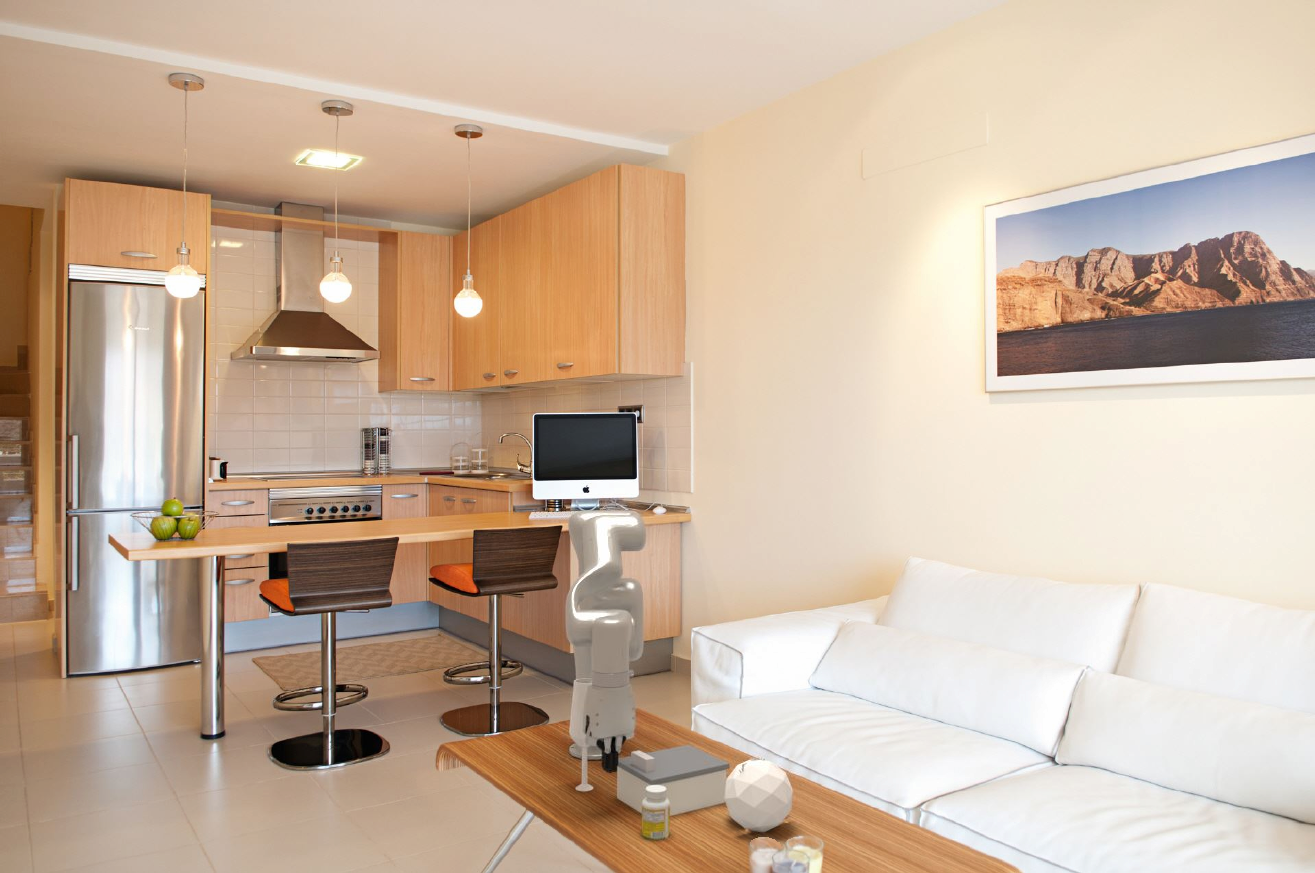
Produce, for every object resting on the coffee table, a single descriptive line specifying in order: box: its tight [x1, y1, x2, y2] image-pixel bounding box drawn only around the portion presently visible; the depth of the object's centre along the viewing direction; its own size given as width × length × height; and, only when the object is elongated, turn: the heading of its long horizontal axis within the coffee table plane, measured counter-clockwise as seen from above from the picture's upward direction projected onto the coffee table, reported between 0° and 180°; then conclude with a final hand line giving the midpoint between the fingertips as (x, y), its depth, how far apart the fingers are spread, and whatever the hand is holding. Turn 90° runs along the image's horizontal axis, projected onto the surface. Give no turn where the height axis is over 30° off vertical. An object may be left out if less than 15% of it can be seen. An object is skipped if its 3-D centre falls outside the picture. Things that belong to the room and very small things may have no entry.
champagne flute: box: [568, 678, 594, 792], centre depth 201 cm, size 7×7×24 cm
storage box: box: [616, 766, 727, 817], centre depth 194 cm, size 14×18×8 cm
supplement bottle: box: [641, 785, 671, 841], centre depth 177 cm, size 5×5×10 cm
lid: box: [618, 744, 731, 785], centre depth 194 cm, size 15×19×4 cm
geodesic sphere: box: [724, 756, 794, 833], centre depth 182 cm, size 14×14×14 cm
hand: (609, 770), depth 186 cm, fingers closed
